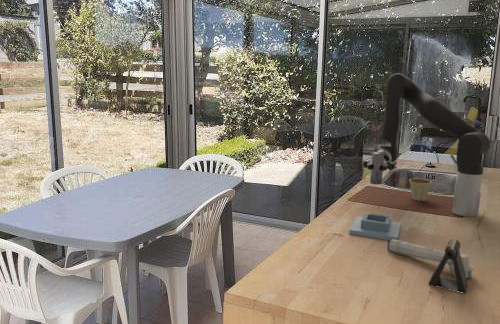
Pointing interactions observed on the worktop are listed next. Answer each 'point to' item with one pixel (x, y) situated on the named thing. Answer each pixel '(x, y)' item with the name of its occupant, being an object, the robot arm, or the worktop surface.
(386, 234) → the block
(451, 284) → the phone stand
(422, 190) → the flower pot
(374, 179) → the steel axle
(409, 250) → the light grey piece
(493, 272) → the worktop surface
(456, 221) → the worktop surface
